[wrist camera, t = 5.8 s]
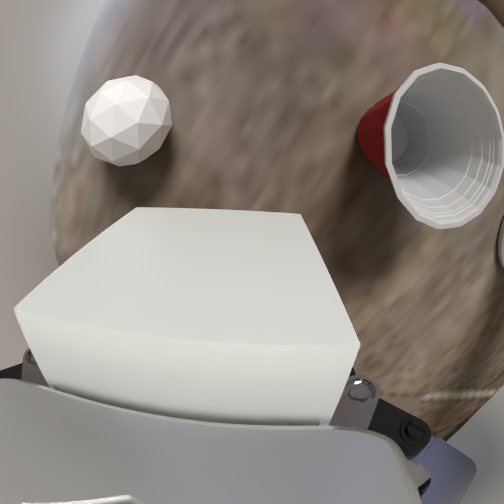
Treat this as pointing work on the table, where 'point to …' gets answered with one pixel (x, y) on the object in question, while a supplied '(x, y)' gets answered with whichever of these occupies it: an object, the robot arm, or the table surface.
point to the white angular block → (196, 319)
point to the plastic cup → (437, 144)
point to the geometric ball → (126, 120)
